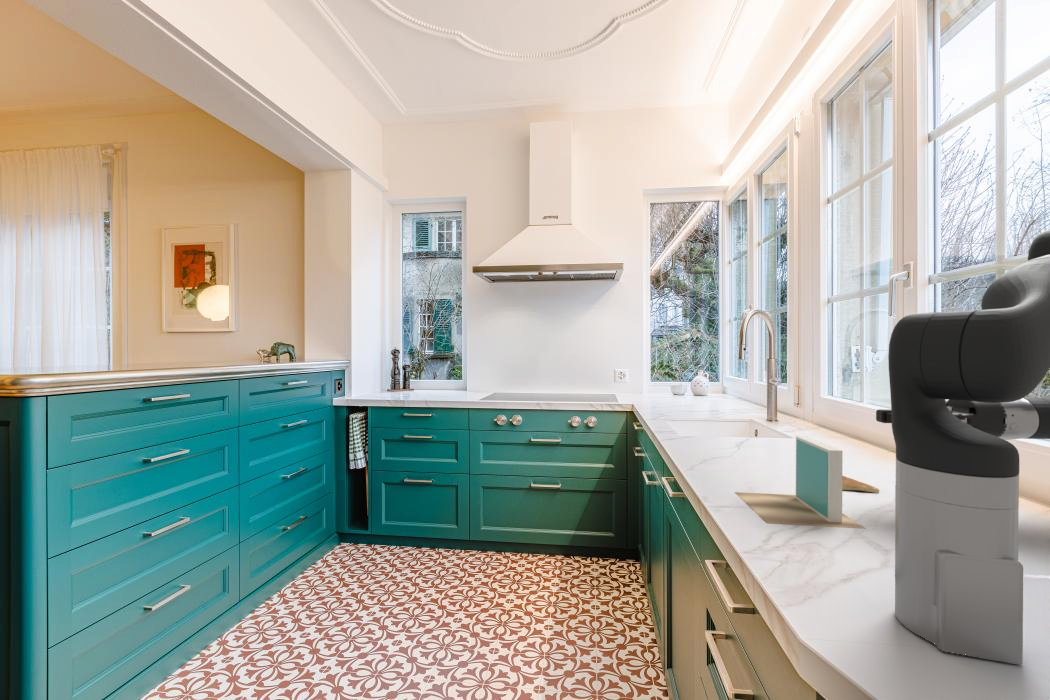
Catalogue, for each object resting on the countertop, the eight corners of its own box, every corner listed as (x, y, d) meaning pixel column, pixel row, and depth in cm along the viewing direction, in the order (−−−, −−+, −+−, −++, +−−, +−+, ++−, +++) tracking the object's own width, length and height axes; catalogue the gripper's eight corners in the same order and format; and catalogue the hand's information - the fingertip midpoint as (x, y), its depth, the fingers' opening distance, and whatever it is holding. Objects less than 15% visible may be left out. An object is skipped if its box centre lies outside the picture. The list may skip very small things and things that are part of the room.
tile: (842, 522, 74) (842, 450, 74) (828, 521, 75) (828, 450, 75) (806, 498, 86) (807, 436, 86) (795, 498, 87) (795, 436, 87)
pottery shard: (816, 492, 93) (816, 480, 93) (817, 481, 101) (817, 470, 101) (881, 502, 87) (881, 489, 87) (876, 489, 95) (876, 477, 95)
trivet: (865, 530, 72) (865, 528, 72) (766, 525, 74) (766, 522, 74) (814, 497, 88) (814, 495, 88) (734, 494, 90) (734, 492, 90)
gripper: (957, 391, 83) (856, 391, 86) (1026, 400, 70) (905, 399, 73) (957, 431, 84) (856, 430, 86) (1026, 447, 70) (905, 445, 73)
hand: (879, 416), depth 79 cm, fingers closed
